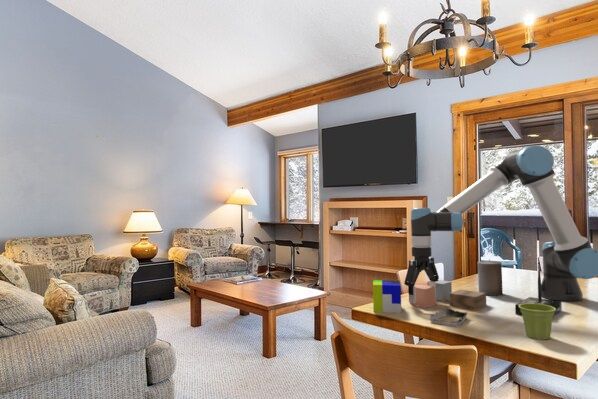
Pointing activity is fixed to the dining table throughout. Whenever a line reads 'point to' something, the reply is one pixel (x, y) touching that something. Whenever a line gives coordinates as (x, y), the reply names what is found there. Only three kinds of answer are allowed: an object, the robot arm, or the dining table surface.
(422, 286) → the terracotta cube
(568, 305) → the dining table surface
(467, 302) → the walnut base block
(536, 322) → the plant pot
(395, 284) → the puzzle toy
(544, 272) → the robot arm
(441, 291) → the slate grey cube
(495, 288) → the pillar candle
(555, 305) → the wireless controller
